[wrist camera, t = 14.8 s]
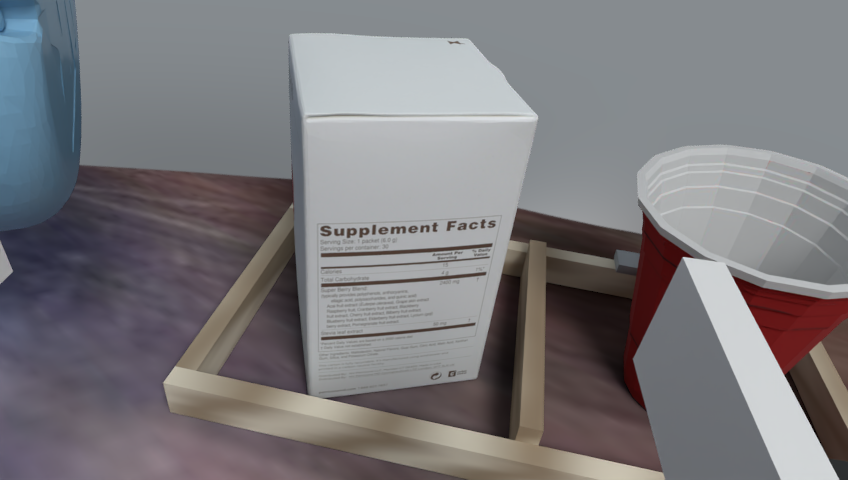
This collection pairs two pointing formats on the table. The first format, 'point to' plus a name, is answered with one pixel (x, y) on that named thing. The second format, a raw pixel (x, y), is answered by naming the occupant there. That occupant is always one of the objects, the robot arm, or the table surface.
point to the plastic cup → (746, 241)
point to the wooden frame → (430, 442)
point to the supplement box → (400, 206)
